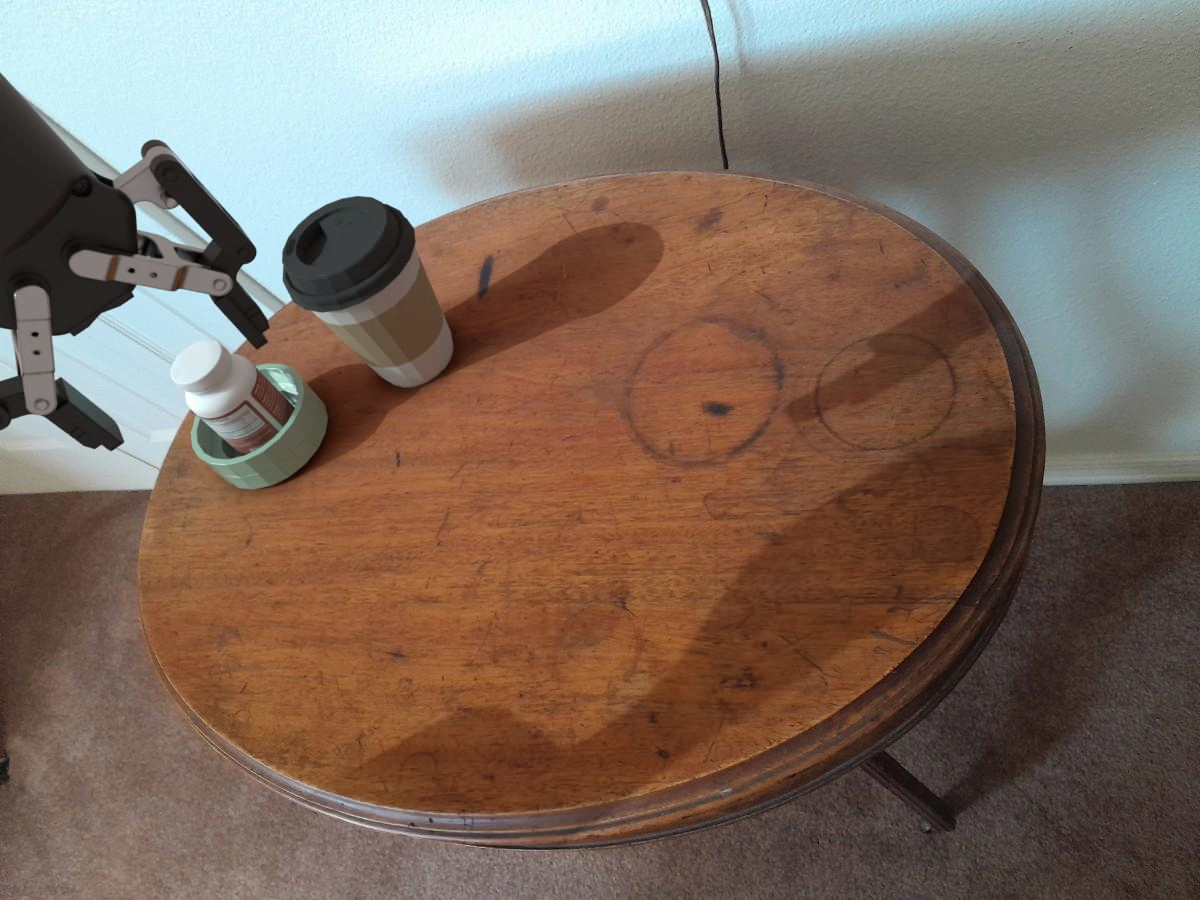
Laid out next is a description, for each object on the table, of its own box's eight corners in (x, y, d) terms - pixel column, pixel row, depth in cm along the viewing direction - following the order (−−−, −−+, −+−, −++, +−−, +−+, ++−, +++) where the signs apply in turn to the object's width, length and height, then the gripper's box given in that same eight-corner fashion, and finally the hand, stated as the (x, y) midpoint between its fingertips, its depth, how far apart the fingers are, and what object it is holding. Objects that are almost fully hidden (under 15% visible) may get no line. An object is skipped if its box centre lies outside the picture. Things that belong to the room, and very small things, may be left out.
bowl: (299, 496, 73) (269, 468, 70) (202, 487, 77) (169, 460, 74) (348, 395, 79) (322, 364, 75) (256, 391, 83) (227, 362, 79)
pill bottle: (272, 403, 80) (195, 324, 72) (318, 417, 77) (245, 337, 69) (231, 457, 78) (146, 382, 69) (277, 473, 75) (196, 398, 66)
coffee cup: (368, 325, 83) (281, 206, 72) (478, 299, 81) (407, 171, 69) (354, 418, 77) (256, 303, 65) (473, 392, 75) (393, 268, 63)
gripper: (50, -15, 34) (280, 274, 47) (-285, 183, 32) (51, 429, 45) (88, 40, 30) (331, 343, 43) (-298, 275, 28) (80, 519, 40)
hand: (187, 387), depth 44 cm, fingers open, 8 cm apart
